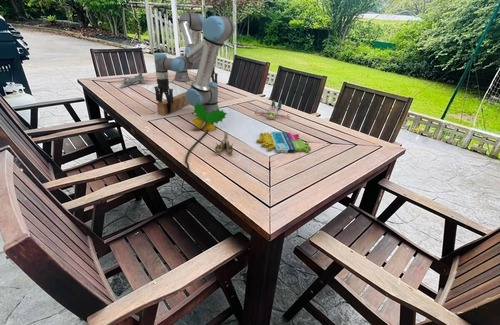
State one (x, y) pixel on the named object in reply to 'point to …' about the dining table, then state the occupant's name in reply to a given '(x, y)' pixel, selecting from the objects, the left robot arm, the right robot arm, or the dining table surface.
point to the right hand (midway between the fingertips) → (165, 111)
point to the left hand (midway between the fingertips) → (210, 91)
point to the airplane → (133, 80)
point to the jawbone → (224, 145)
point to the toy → (273, 111)
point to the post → (178, 103)
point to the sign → (283, 142)
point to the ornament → (207, 117)
